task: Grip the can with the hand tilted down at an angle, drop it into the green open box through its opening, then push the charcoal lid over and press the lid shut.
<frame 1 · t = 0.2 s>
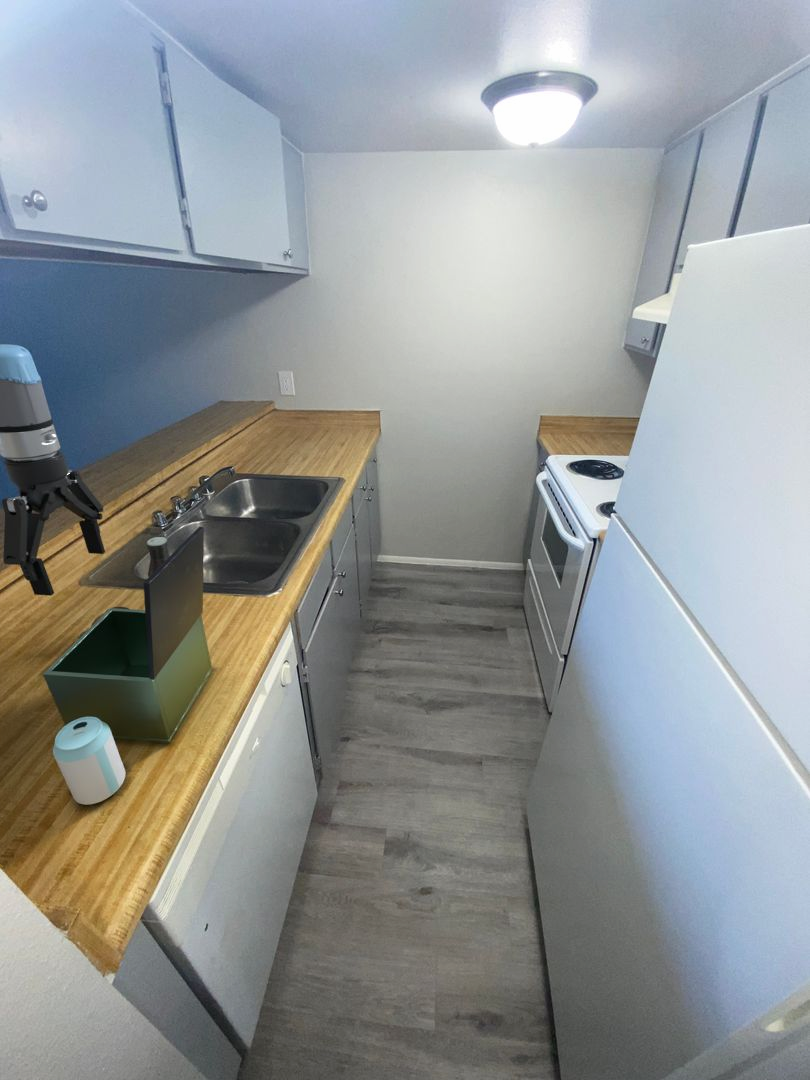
hand: (72, 572, 82), 24 cm above the worktop, tool pointing down, fingers open, 13 cm apart
green open box: (147, 700, 88), on the worktop
washer lid: (177, 599, 77), point 24 cm above the worktop, hinge at 100.0°
sauce bottle: (173, 614, 111), on the worktop
can: (101, 786, 73), on the worktop
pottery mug: (112, 643, 102), on the worktop
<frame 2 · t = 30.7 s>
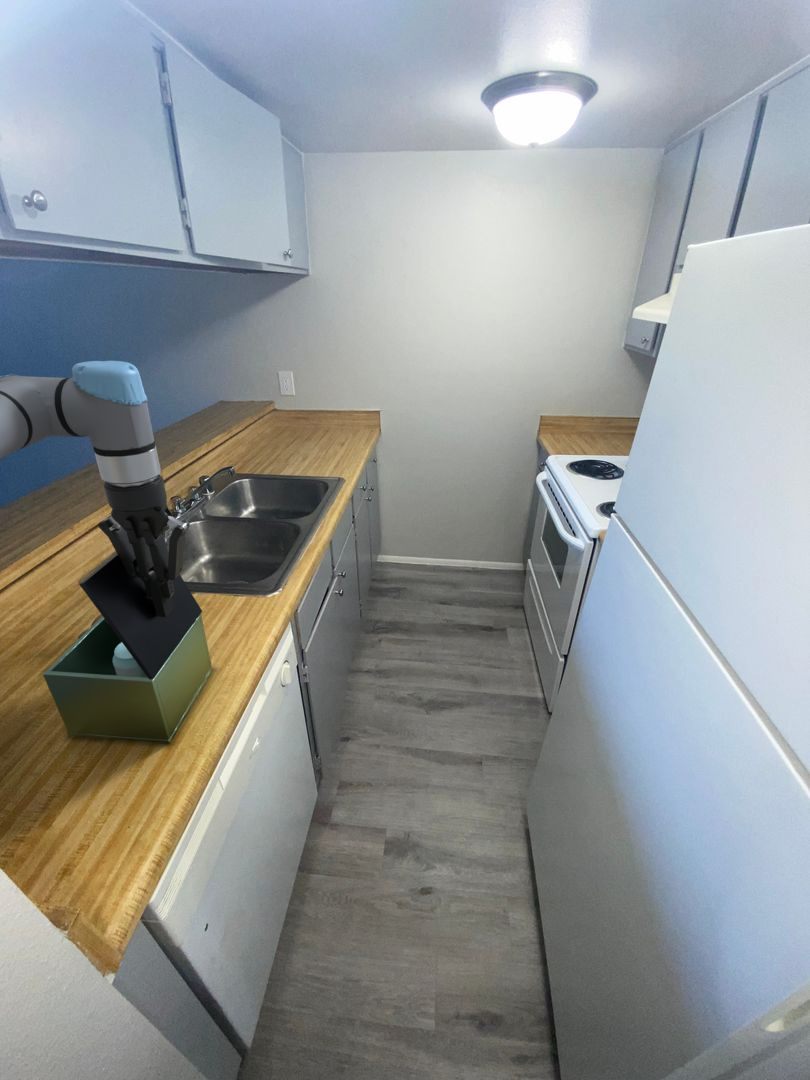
hand: (165, 611, 78), 21 cm above the worktop, tool pointing down, fingers closed
washer lid: (150, 599, 77), point 23 cm above the worktop, hinge at 70.4°
can: (148, 697, 88), point 1 cm above the worktop, touching green open box
everything else where it was.
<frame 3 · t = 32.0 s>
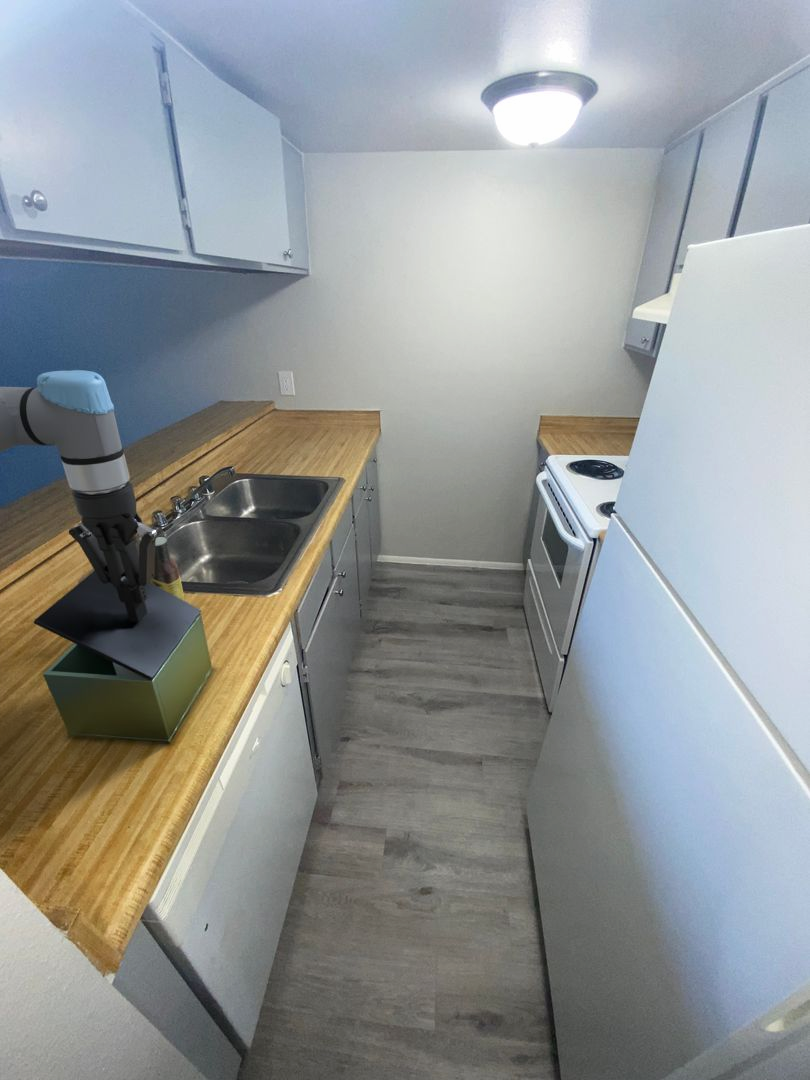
hand: (138, 616, 79), 20 cm above the worktop, tool pointing down, fingers closed
washer lid: (127, 616, 79), point 20 cm above the worktop, hinge at 33.0°, touching gripper
everything else where it was.
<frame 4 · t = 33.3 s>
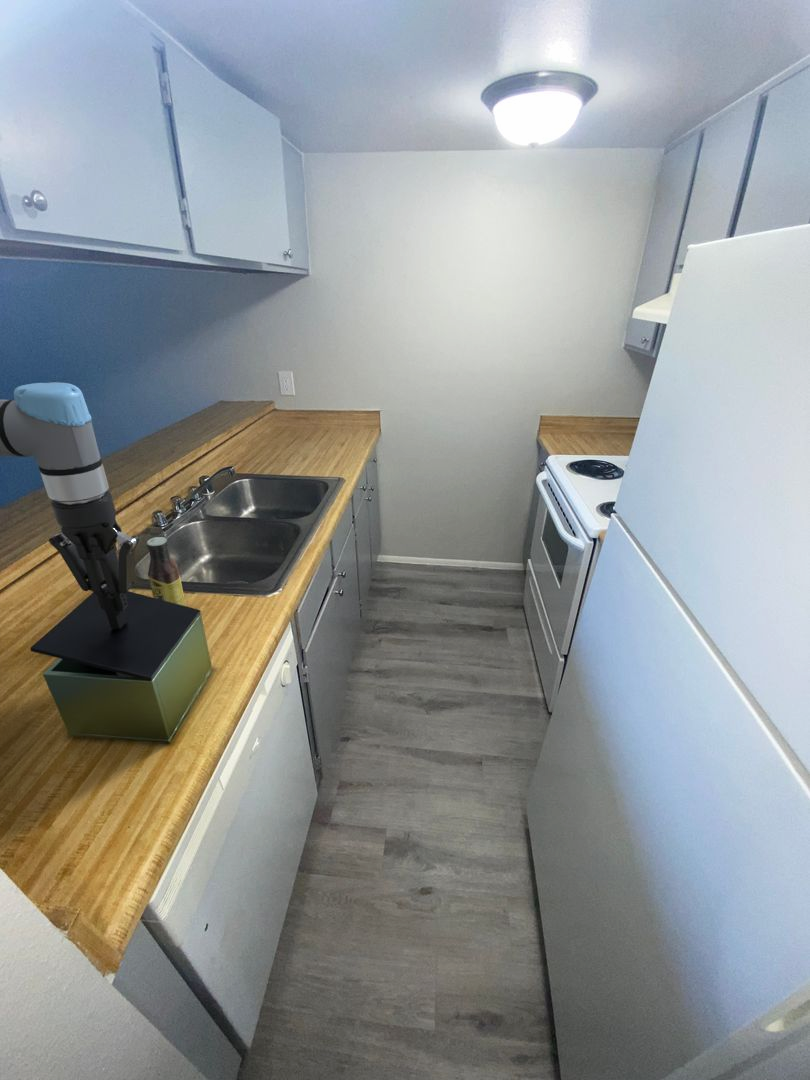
hand: (120, 623, 80), 18 cm above the worktop, tool pointing down, fingers closed
washer lid: (124, 628, 80), point 17 cm above the worktop, hinge at 14.3°, touching gripper
everything else where it was.
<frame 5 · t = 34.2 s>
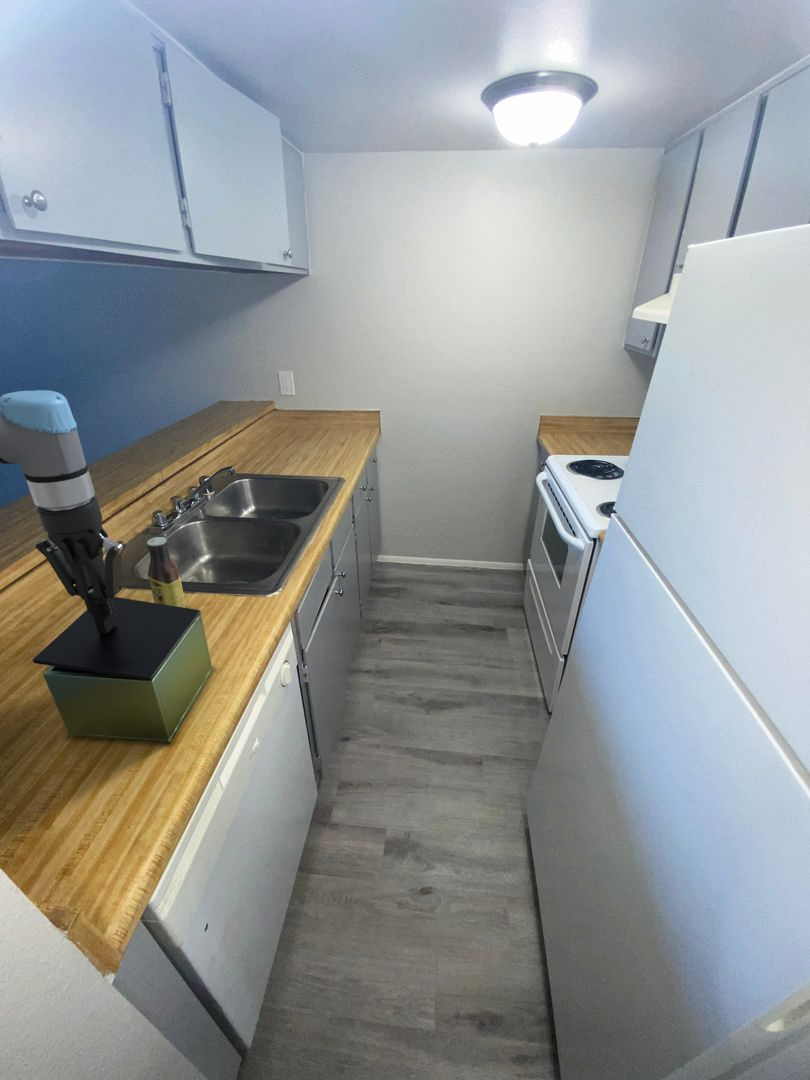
hand: (107, 628, 80), 17 cm above the worktop, tool pointing down, fingers closed
washer lid: (125, 634, 81), point 16 cm above the worktop, hinge at 6.5°, touching gripper
everything else where it was.
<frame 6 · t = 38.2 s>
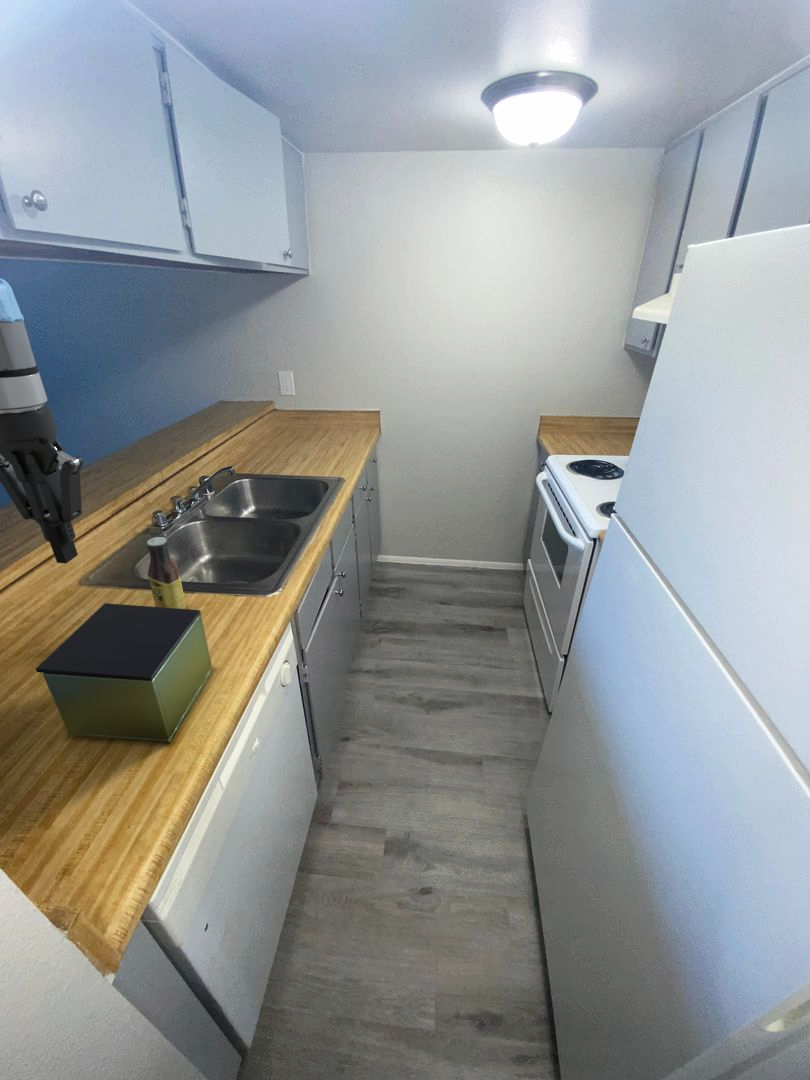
hand: (67, 558, 74), 30 cm above the worktop, tool pointing down, fingers closed
washer lid: (126, 638, 81), point 15 cm above the worktop, hinge at 0.6°
everything else where it was.
at the end: can inside the target area in the green open box (0.3 cm from its centre), point 0.6 cm above the green open box's base; washer lid at +1° (first picture: +100°) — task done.
